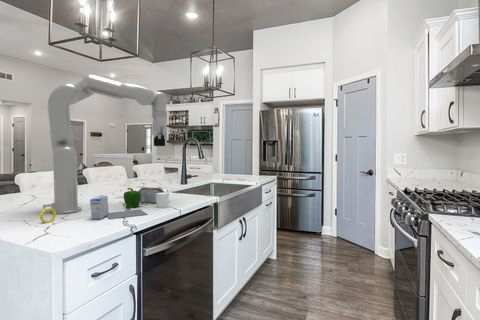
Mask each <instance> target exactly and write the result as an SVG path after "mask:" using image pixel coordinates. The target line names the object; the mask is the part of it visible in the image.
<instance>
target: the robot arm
mask: <svg viewBox="0 0 480 320" xmlns="http://www.w3.org/2000/svg"><path fill="white" fill-rule="evenodd" d="M95 94H98V95H102V96H105V97H108V98H112V99H116V100H117V99H118V100H119V99H127V100H128V99H131V100H135V101H136V103H138V104H139V105H140V106H151V118H152V125H151V135H152V136H153V147H165V146H166V118H167V97H166V94H165V92H160V91H155V92H154V91H153V90H152V89H150V88H147V87H145V86H141V85H137V84H133V83H127V82H122V81H117V80H113V79H109V78H106V77H103V76H100V75H95V74H91V73H89V74H86V75H84V76H83V78H82V80H79V81H77V82H76V83H73V84H72V83H63V84H60V85H58V86H57V87H55V88H54V89H53V90H52V91H51V93H50V94H49V97H48V100H47V112H48V113H47V114H48V120H49V121H48V122H49V137H50V142H51V149H52V161H53V163H52V164H53V165H52V166H53V167H52V169H53V170H52V171H53V193H54V194H53V195H54V197H53V199H54V201H53V202H51V203H50V204H42V209H43V210H44V208H46V207H52V209H54V210H55V211H56V215H57V214H58V215H62V214H71V213H77V212H80V211H82V207H81V206H79V203H78V201H79V200H78V198H79V197H78V193H79V192H78V154H77V150H76V149H75V143H74V137H73V135H74V130H73V126H72V123H71V122H72V121H71V115H70V114H71V113H70V105H71V106H72V105H75V104H77V103H78V102H81V101H84V100H85V99H88V98H89V97H92V96H94V95H95ZM50 213H51V214H53V212H52V210H50Z"/></svg>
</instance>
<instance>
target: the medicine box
mask: <svg viewBox="0 0 480 320" xmlns="http://www.w3.org/2000/svg"><path fill="white" fill-rule="evenodd" d="M89 202H90V203H89V204H90V215H91V220H101V219H103V218H105V217H107V216H106V215H108V214H109V213H110V212H109V199H108V195H97V196H95V197H93V198H91V199H89Z"/></svg>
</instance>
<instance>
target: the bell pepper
mask: <svg viewBox="0 0 480 320" xmlns="http://www.w3.org/2000/svg"><path fill="white" fill-rule="evenodd" d="M123 201H124V204H125V206H126V208H130V207H131V208H137V207H139V206H140V204H141V202H140V201H141V192H140V191H139V190H138V191H137V190H134V189H133V187H128V188H127V191H125V192H124V193H123Z"/></svg>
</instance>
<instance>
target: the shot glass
mask: <svg viewBox="0 0 480 320" xmlns="http://www.w3.org/2000/svg"><path fill="white" fill-rule="evenodd" d="M169 199H170V193H169V192H161V193H156V203H155V204H156V207H157V208H159V209H164V208H168V207H169Z"/></svg>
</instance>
